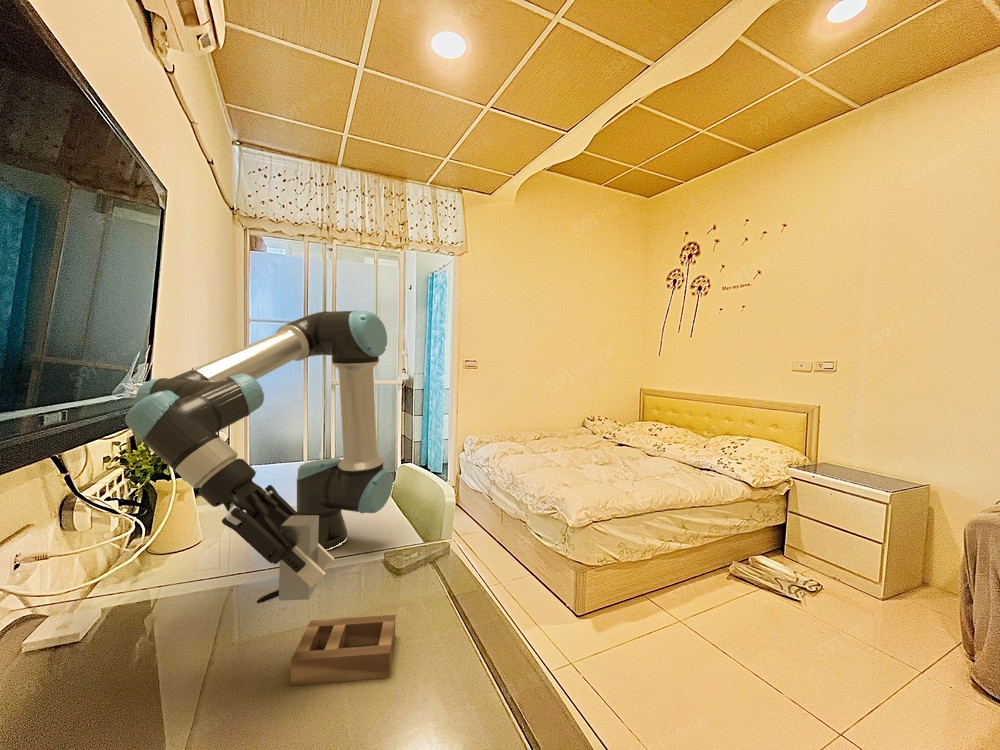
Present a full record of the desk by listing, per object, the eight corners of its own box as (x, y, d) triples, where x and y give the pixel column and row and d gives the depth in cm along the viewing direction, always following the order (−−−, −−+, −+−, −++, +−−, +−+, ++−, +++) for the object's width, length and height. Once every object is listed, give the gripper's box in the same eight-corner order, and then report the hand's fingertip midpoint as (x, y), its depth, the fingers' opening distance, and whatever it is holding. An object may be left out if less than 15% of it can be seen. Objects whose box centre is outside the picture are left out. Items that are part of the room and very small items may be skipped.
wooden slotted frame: (310, 642, 76) (310, 620, 75) (395, 635, 78) (395, 614, 78) (290, 686, 65) (290, 660, 65) (389, 677, 68) (389, 652, 67)
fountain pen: (319, 577, 99) (319, 571, 99) (321, 579, 98) (322, 572, 98) (254, 603, 88) (254, 596, 88) (257, 605, 87) (257, 598, 87)
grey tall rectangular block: (289, 585, 71) (291, 515, 71) (316, 584, 71) (318, 515, 71) (278, 600, 66) (280, 525, 66) (308, 599, 67) (310, 525, 67)
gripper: (228, 475, 75) (321, 563, 78) (163, 508, 58) (286, 620, 60) (260, 446, 76) (352, 534, 78) (206, 470, 58) (325, 583, 61)
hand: (323, 572), depth 69 cm, fingers closed on grey tall rectangular block, 4 cm apart
